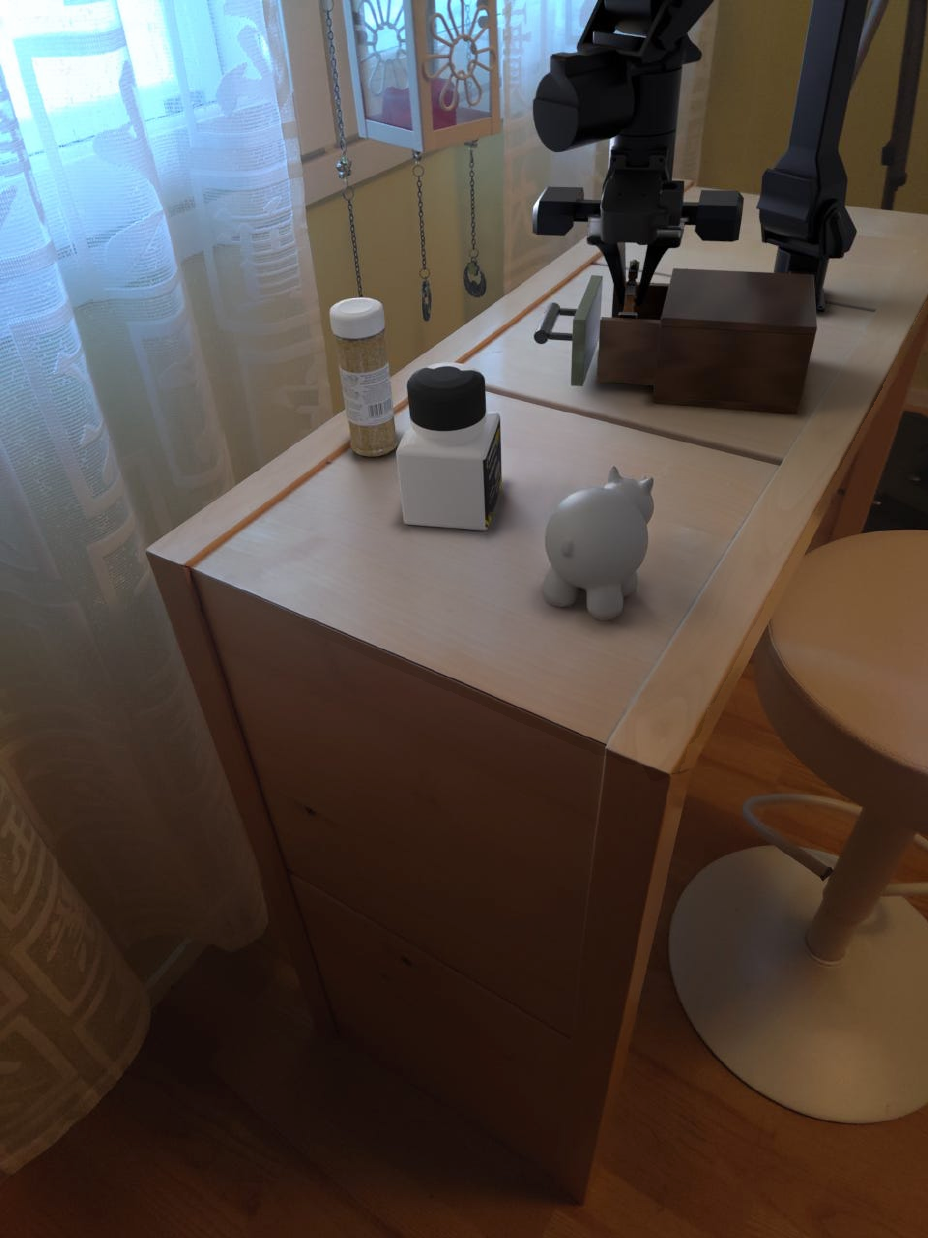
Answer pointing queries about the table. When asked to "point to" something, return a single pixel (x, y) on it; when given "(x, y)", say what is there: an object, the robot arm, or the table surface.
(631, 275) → the wooden post with brackets
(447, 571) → the table surface
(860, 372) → the table surface
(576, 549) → the chubby cartoon animal
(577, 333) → the drawer
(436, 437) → the medicine bottle
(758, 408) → the cabinet
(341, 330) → the sprinkles bottle
